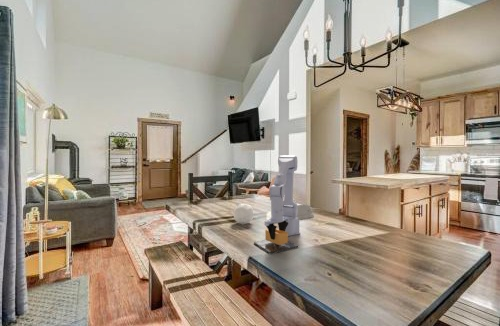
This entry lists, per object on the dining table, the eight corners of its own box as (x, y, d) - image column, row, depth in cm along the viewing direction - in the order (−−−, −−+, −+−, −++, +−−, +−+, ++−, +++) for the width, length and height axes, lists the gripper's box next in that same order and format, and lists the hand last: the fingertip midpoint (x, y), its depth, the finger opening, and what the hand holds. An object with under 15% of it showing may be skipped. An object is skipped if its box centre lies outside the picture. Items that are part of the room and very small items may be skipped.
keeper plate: (280, 238, 134) (280, 228, 134) (298, 247, 121) (298, 236, 121) (253, 243, 127) (253, 233, 126) (269, 254, 113) (269, 242, 113)
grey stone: (295, 220, 171) (292, 205, 174) (291, 220, 175) (288, 206, 178) (314, 216, 179) (311, 203, 182) (310, 217, 183) (306, 204, 186)
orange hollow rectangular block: (273, 237, 128) (273, 227, 128) (287, 242, 120) (287, 232, 120) (265, 239, 125) (265, 229, 125) (279, 245, 117) (279, 234, 117)
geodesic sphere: (229, 218, 155) (242, 200, 156) (226, 213, 168) (238, 196, 170) (247, 231, 158) (260, 212, 159) (243, 225, 171) (254, 208, 173)
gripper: (282, 206, 129) (282, 232, 130) (260, 210, 121) (260, 238, 121) (292, 208, 124) (292, 236, 124) (270, 213, 115) (270, 242, 115)
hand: (277, 237), depth 122 cm, fingers closed on orange hollow rectangular block, 5 cm apart
